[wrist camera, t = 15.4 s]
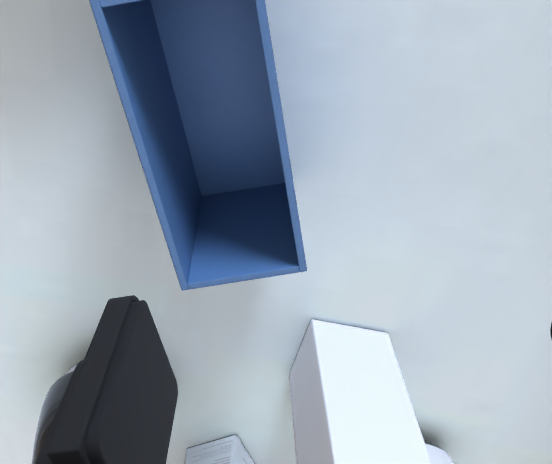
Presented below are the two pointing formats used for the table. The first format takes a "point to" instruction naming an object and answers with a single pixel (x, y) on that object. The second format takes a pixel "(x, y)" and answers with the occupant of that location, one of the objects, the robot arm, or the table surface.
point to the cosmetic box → (219, 452)
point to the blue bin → (207, 133)
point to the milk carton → (352, 400)
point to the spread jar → (437, 454)
